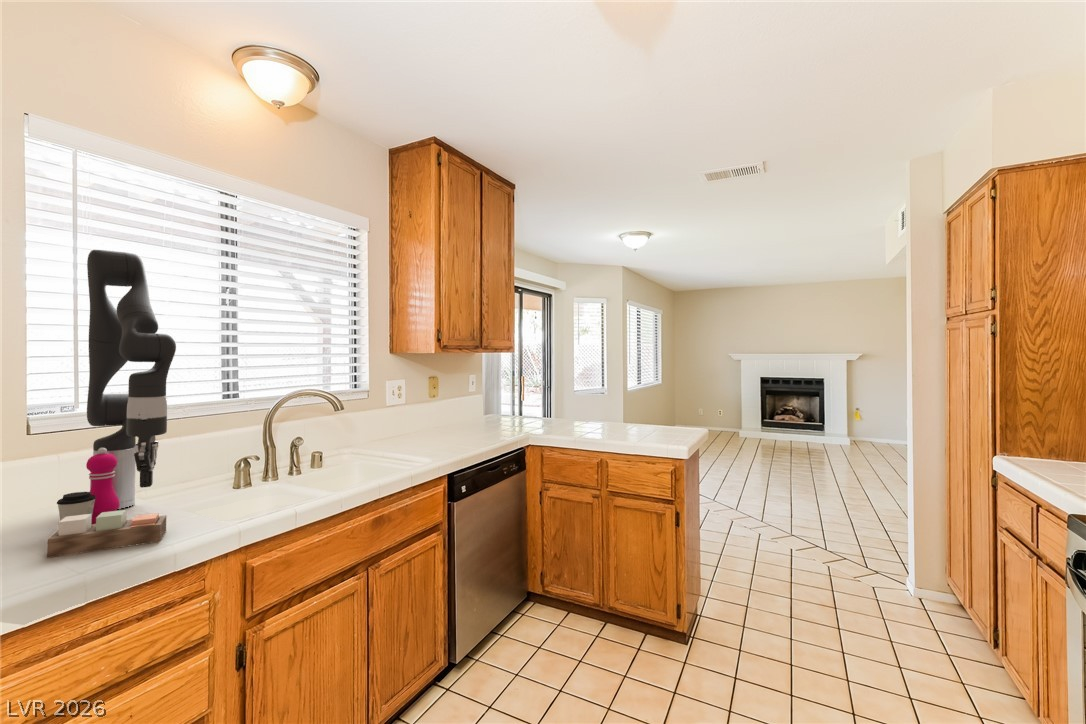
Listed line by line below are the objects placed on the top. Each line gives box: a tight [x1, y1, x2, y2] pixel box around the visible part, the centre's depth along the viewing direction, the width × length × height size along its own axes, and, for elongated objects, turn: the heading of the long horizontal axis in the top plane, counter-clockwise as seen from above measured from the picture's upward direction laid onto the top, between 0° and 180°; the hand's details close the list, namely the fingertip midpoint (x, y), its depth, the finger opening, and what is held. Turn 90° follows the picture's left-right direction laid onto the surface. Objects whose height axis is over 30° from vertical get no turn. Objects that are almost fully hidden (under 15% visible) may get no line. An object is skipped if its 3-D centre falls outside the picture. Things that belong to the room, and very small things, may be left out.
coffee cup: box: [56, 491, 96, 522], centre depth 116 cm, size 7×7×10 cm
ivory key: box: [58, 514, 92, 536], centre depth 108 cm, size 4×4×4 cm
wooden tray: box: [46, 514, 167, 558], centre depth 111 cm, size 19×8×4 cm, turn 121°
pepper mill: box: [85, 448, 120, 524], centre depth 125 cm, size 7×7×20 cm
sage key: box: [96, 509, 127, 531], centre depth 111 cm, size 4×4×4 cm
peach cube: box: [131, 512, 160, 526], centre depth 114 cm, size 4×4×4 cm
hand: (146, 486), depth 114 cm, fingers closed
